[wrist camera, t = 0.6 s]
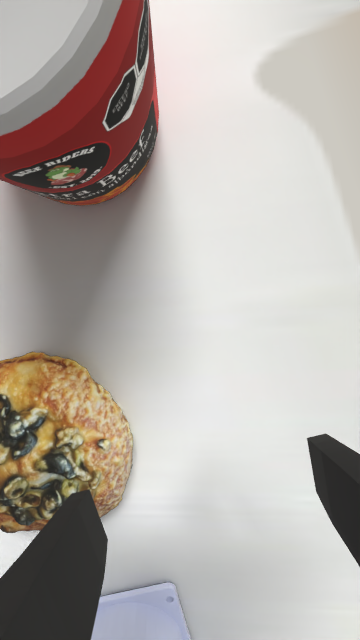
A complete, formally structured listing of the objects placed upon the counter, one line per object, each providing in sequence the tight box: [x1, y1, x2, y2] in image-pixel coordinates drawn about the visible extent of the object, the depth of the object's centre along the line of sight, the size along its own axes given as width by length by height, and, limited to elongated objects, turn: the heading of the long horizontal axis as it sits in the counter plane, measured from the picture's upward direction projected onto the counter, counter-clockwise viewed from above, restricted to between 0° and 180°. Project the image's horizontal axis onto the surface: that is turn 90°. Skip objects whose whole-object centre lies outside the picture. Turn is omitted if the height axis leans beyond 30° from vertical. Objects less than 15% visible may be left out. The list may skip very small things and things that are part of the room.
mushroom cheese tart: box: [0, 352, 133, 533], centre depth 18 cm, size 11×11×5 cm
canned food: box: [0, 0, 159, 205], centre depth 10 cm, size 8×8×11 cm
